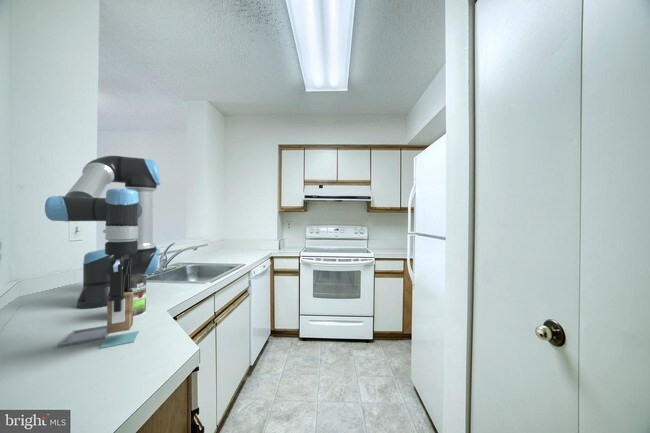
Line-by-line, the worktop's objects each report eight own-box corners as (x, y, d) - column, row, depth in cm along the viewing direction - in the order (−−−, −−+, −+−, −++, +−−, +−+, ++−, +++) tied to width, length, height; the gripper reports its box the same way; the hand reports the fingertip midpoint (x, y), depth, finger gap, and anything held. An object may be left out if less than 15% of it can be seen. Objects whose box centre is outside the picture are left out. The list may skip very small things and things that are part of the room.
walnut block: (111, 327, 73) (112, 293, 73) (132, 323, 75) (133, 291, 75) (106, 333, 68) (107, 298, 68) (129, 330, 71) (129, 295, 71)
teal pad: (107, 338, 73) (107, 336, 73) (138, 332, 77) (138, 331, 77) (99, 350, 66) (99, 347, 67) (133, 343, 70) (133, 341, 70)
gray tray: (73, 334, 76) (73, 330, 76) (114, 327, 81) (114, 324, 81) (57, 348, 67) (57, 344, 67) (104, 340, 72) (104, 336, 72)
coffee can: (152, 311, 96) (153, 275, 96) (126, 321, 85) (127, 281, 86) (131, 309, 98) (132, 274, 98) (103, 319, 87) (104, 280, 88)
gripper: (114, 239, 78) (113, 311, 78) (94, 243, 63) (92, 333, 62) (142, 238, 82) (141, 307, 81) (131, 242, 66) (129, 327, 66)
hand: (120, 318), depth 72 cm, fingers closed on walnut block, 5 cm apart
